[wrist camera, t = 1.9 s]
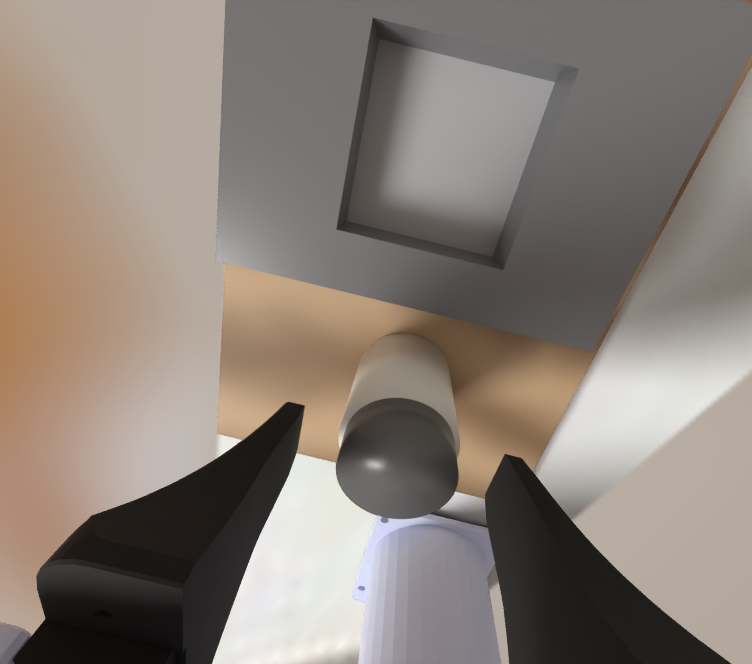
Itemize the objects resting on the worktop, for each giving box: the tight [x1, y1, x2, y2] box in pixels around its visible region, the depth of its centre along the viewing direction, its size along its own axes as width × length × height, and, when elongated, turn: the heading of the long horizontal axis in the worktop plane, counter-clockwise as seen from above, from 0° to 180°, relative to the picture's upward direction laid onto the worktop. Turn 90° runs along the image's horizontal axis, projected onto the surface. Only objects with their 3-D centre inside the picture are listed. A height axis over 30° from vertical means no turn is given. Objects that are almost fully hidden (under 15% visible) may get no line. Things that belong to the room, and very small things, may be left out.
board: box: [217, 0, 752, 499], centre depth 16 cm, size 24×17×1 cm
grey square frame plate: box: [216, 0, 752, 352], centre depth 13 cm, size 14×10×3 cm
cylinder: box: [336, 333, 460, 519], centre depth 15 cm, size 4×4×6 cm
